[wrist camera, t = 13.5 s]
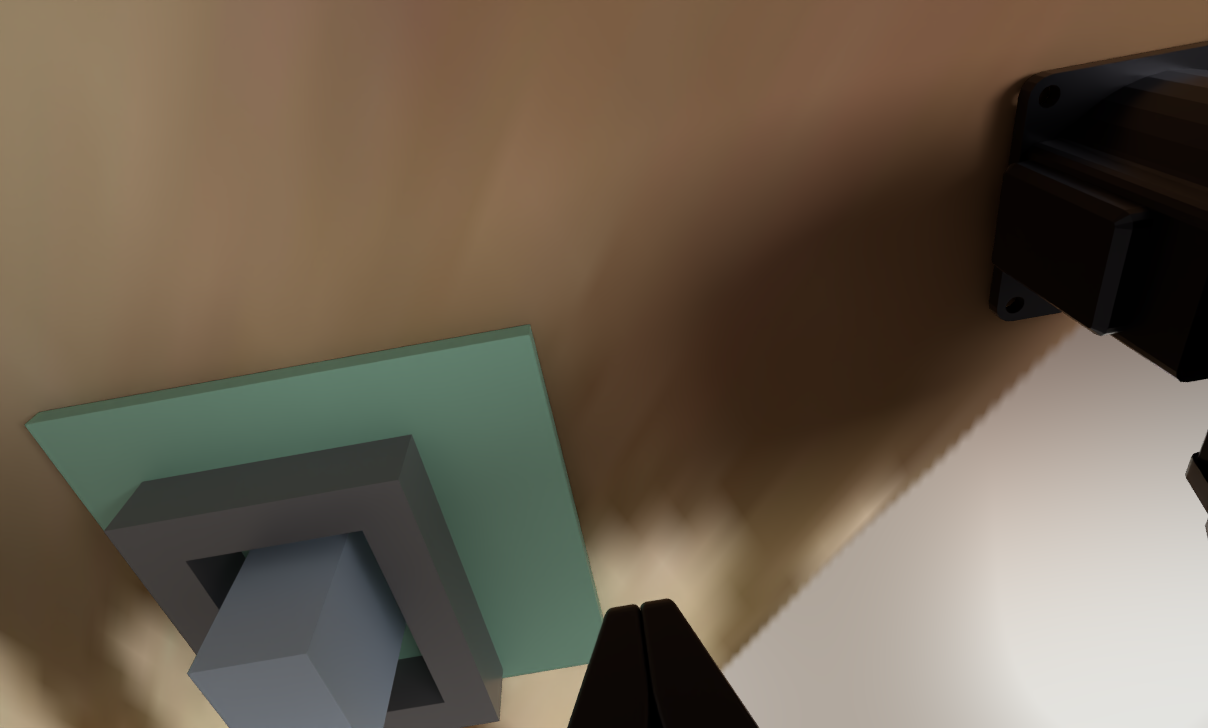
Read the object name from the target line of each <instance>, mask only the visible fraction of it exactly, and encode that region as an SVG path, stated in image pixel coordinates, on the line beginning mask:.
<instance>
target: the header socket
mask: <svg viewBox="0 0 1208 728" xmlns="http://www.w3.org/2000/svg"><path fill="white" fill-rule="evenodd" d="M357 531H363V533H364V535H365V537H366V539H367V541H368V543H369V545H370V548H371V550H372V552H373V554H374V556H375V558H376V560H377V562H378V564H379V566H380V568H381V570H382V573H383V575H384V577H385V579H386V581H387V583H388V585H389V587H390V589H391V591H392V593H393V596H394V598H395V600H396V602H397V604H398V606H399V608H400V610H401V612H402V614H403V616H404V619H405V621H406V623H407V625H408V627H409V629H410V631H411V633H412V635H413V637H414V639H415V641H416V644H417V646H418V648H419V650H420V652H421V654H422V656H416V657H410V658H404V659H398V663H397V667H396V672H395V676H394V681H393V686H392V690H391V695H390V699H389V704H388V709H387V713H386V718H385V722H384V727H383V728H461V727H467V726H473V725H479V724H485V723H491V722H497V721H500V707H501V692H502V676H503V668H502V665H501V663H500V660H499V658H498V655H497V653H496V650H495V647H494V645H493V642H492V640H491V637H490V635H489V632H488V629H487V627H486V624H485V622H484V619H483V617H482V614H481V611H480V609H479V606H478V604H477V601H476V598H475V596H474V593H473V591H472V588H471V586H470V583H469V580H468V578H467V575H466V573H465V570H464V568H463V565H462V562H461V560H460V557H459V555H458V552H457V550H456V547H455V544H454V542H453V539H452V537H451V534H450V531H449V529H448V526H447V524H446V521H445V519H444V516H443V513H442V511H441V508H440V506H439V503H438V501H437V498H436V495H435V493H434V490H433V488H432V485H431V483H430V480H429V477H428V475H427V472H426V470H425V467H424V464H423V462H422V459H421V457H420V454H419V452H418V449H417V446H416V444H415V441H414V439H413V436H412V434H411V435H405V436H399V437H394V438H388V439H382V440H377V441H371V442H365V443H360V444H354V445H348V446H343V447H337V448H331V449H325V450H320V451H314V452H308V453H303V454H297V455H291V456H286V457H280V458H274V459H269V460H263V461H257V462H252V463H246V464H240V465H235V466H229V467H223V468H218V469H212V470H206V471H201V472H195V473H189V474H183V475H178V476H172V477H166V478H161V479H155V480H149V481H144V482H142V483H141V484H140V485H139V487H138V488H137V489H136V491H135V492H134V493H133V494H132V496H131V497H130V498H129V499H128V501H127V502H126V503H125V505H124V506H123V507H122V508H121V510H120V511H119V512H118V513H117V515H116V516H115V517H114V519H113V520H112V521H111V522H110V524H109V525H108V526H107V528H106V529H105V530H104V532H105V534H106V535H107V536H108V538H109V539H110V540H111V542H112V543H113V544H114V546H115V547H116V548H117V550H118V551H119V552H120V554H121V555H122V556H123V558H124V559H125V560H126V562H127V563H128V564H129V566H130V567H131V568H132V570H133V571H134V572H135V574H136V575H137V576H138V578H139V579H140V580H141V582H142V583H143V584H144V586H145V587H146V588H147V590H148V591H149V592H150V594H151V595H152V596H153V598H154V599H155V600H156V602H157V603H158V604H159V606H160V607H161V608H162V610H163V611H164V612H165V614H166V615H167V616H168V618H169V619H170V620H171V622H172V623H173V624H174V626H175V627H176V628H177V630H178V631H179V632H180V634H181V635H182V636H183V638H184V639H185V640H186V642H187V643H188V644H189V646H190V647H191V648H192V650H193V651H194V652H195V654H196V655H197V653H198V651H199V649H200V647H201V645H202V643H203V641H204V639H205V638H206V636H207V634H208V632H209V630H210V628H211V626H212V624H213V622H214V620H215V618H216V616H217V614H218V612H219V610H220V608H221V606H222V604H223V602H224V600H225V598H226V596H227V594H228V592H229V590H230V588H231V587H232V585H233V583H234V581H235V579H236V577H237V575H238V573H239V571H240V569H241V567H242V565H243V563H244V561H245V559H246V558H245V557H244V555H243V554H242V552H241V551H247V550H253V549H259V548H264V547H270V546H276V545H282V544H287V543H293V542H299V541H305V540H311V539H316V538H322V537H328V536H334V535H340V534H345V533H351V532H357Z"/></svg>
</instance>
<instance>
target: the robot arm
mask: <svg viewBox="0 0 1208 728" xmlns="http://www.w3.org/2000/svg"><path fill="white" fill-rule="evenodd" d="M1048 86H1049V87H1050V93H1049V95H1048V98H1047V99H1046V100H1045V101H1044V102H1043V103H1041V104H1039V96H1040V94H1041V92H1042V91H1043V90H1044V89H1045V88H1046V87H1048ZM992 263H993V264H994V270H993V277H992V284H991V291H990V298H989V308H990V309H991V311H992V312H993V313H994V314H995V315H997V316H998V317H999V318H1000V319H1002V320H1005V321H1015V320H1021V319H1027V318H1032V317H1038V316H1044V315H1049V314H1055V313H1061V312H1063V313H1065V314H1066V315H1068V316H1069V317H1070V318H1072V319H1073V320H1075V321H1076V322H1078V323H1079V324H1081V325H1082V326H1084V327H1085V328H1087V329H1088V330H1090V331H1091V332H1093V333H1094V334H1096V335H1099V336H1103V335H1108V334H1109V335H1111V336H1113V337H1114V338H1115V339H1117V340H1119V341H1120V342H1122V343H1123V344H1124V345H1126V346H1127V347H1129V348H1130V349H1132V350H1134V351H1135V352H1137V353H1138V354H1140V355H1141V356H1143V357H1144V358H1145V359H1147V360H1149V361H1150V362H1152V363H1153V364H1155V365H1156V366H1158V367H1159V368H1161V369H1162V370H1164V371H1165V372H1167V373H1168V374H1170V375H1171V376H1173V377H1174V378H1176V379H1177V380H1179V381H1180V382H1191V381H1197V380H1203V379H1208V41H1205V42H1200V43H1194V44H1189V45H1183V46H1178V47H1173V48H1167V49H1162V50H1156V51H1151V52H1146V53H1140V54H1135V55H1129V56H1124V57H1119V58H1113V59H1108V60H1102V61H1097V62H1091V63H1086V64H1081V65H1075V66H1070V67H1064V68H1059V69H1054V70H1048V71H1043V72H1040V73H1038V74H1035V75H1033V76H1032V77H1031V78H1030V79H1028V80H1027V81H1026V83H1025V84H1024V85H1023V87H1022V88H1021V91H1020V94H1019V97H1018V103H1017V110H1016V117H1015V124H1014V131H1013V138H1012V145H1011V152H1010V159H1009V166H1008V168H1007V170H1006V172H1005V173H1004V176H1003V182H1002V189H1001V196H1000V204H999V211H998V218H997V225H996V232H995V239H994V246H993V253H992ZM1014 297H1016V298H1015V301H1014V302H1013V303H1012V304H1011V305H1010V306H1007V307H1006V305H1007V303H1008V302H1009V301H1010V300H1011V299H1012V298H1014ZM1185 476H1186V479H1187V480H1188V482H1189V483H1190V485H1191V487H1192V488H1193V490H1194V492H1195V493H1196V495H1197V497H1198V498H1199V500H1200V501H1201V503H1202V505H1203V507H1204V508H1205V510H1206V512H1207V513H1208V431H1207V433H1206V436H1205V439H1204V441H1203V444H1202V447H1201V450H1200V452H1197V453H1194V454H1193V455H1192V457H1191V460H1190V462H1189V465H1188V468H1187V471H1186V474H1185ZM1205 527H1206V532H1207V536H1208V520H1207V523H1206V525H1205ZM567 728H759V727H758V725H757V724H756V722H755V721H754V719H753V718H752V717H751V715H750V713H749V712H748V710H747V709H746V708H745V706H744V704H743V703H742V701H741V700H740V698H739V697H738V696H737V694H736V693H735V691H734V690H733V688H732V687H731V685H730V684H729V682H728V681H727V679H726V678H725V676H724V675H723V673H722V672H721V670H720V669H719V667H718V666H717V665H716V663H715V662H714V660H713V659H712V657H711V656H710V654H709V653H708V651H707V650H706V648H705V647H704V645H703V644H702V642H701V641H700V639H699V638H698V636H697V635H696V634H695V632H694V631H693V629H692V628H691V626H690V625H689V623H688V622H687V620H686V619H685V617H684V616H683V614H682V613H681V611H680V610H679V608H678V607H677V605H676V604H675V603H674V602H673V601H672V600H671V599H661V600H655V601H649V602H645V603H643V604H642V605H641V607H640V608H639V607H638V606H637V605H634V604H632V605H626V606H620V607H614V608H610V609H609V610H608V611H607V612H606V614H605V616H604V619H603V622H602V625H601V628H600V631H599V634H598V637H597V640H596V643H595V646H594V649H593V652H592V655H591V658H590V661H589V664H588V667H587V670H586V673H585V676H584V679H583V682H582V685H581V688H580V691H579V694H578V697H577V700H576V703H575V706H574V709H573V712H572V715H571V718H570V721H569V724H568V727H567Z"/></svg>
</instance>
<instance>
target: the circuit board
mask: <svg viewBox="0 0 1208 728" xmlns="http://www.w3.org/2000/svg"><path fill="white" fill-rule="evenodd" d="M25 426H26V428H27V429H28V430H29V432H30V433H31V434H32V436H33V437H34V438H35V440H36V441H37V442H38V444H39V445H40V446H41V448H42V449H43V450H44V452H45V453H46V454H47V456H48V457H49V458H50V460H51V461H52V462H53V464H54V465H55V466H56V468H57V469H58V470H59V472H60V473H61V474H62V476H63V477H64V478H65V480H66V481H67V482H68V484H69V485H70V486H71V488H72V489H73V490H74V492H75V493H76V494H77V496H78V497H79V498H80V500H81V501H82V502H83V504H84V505H85V506H86V508H87V509H88V510H89V512H90V513H91V514H92V516H93V517H94V518H95V520H96V521H97V522H98V524H99V525H100V526H101V528H102V529H103V530H105V529H106V528H107V526H108V525H109V524H110V522H111V521H112V520H113V519H114V517H115V516H116V515H117V513H118V512H119V511H120V510H121V508H122V507H123V506H124V505H125V503H126V502H127V501H128V499H129V498H130V497H131V496H132V494H133V493H134V492H135V491H136V489H137V488H138V487H139V485H140V484H141V483H142V482H144V481H149V480H155V479H161V478H166V477H172V476H178V475H183V474H189V473H195V472H201V471H206V470H212V469H218V468H223V467H229V466H235V465H240V464H246V463H252V462H257V461H263V460H269V459H274V458H280V457H286V456H291V455H297V454H303V453H308V452H314V451H320V450H325V449H331V448H337V447H343V446H348V445H354V444H360V443H365V442H371V441H377V440H382V439H388V438H394V437H399V436H405V435H411V434H412V436H413V439H414V441H415V444H416V446H417V449H418V452H419V454H420V457H421V459H422V462H423V464H424V467H425V470H426V472H427V475H428V477H429V480H430V483H431V485H432V488H433V490H434V493H435V495H436V498H437V501H438V503H439V506H440V508H441V511H442V513H443V516H444V519H445V521H446V524H447V526H448V529H449V531H450V534H451V537H452V539H453V542H454V544H455V547H456V550H457V552H458V555H459V557H460V560H461V562H462V565H463V568H464V570H465V573H466V575H467V578H468V580H469V583H470V586H471V588H472V591H473V593H474V596H475V598H476V601H477V604H478V606H479V609H480V611H481V614H482V617H483V619H484V622H485V624H486V627H487V629H488V632H489V635H490V637H491V640H492V642H493V645H494V647H495V650H496V653H497V655H498V658H499V660H500V663H501V665H502V668H503V676H502V678H506V677H512V676H518V675H524V674H530V673H536V672H542V671H548V670H554V669H560V668H566V667H572V666H578V665H584V664H589V661H590V658H591V655H592V652H593V649H594V646H595V643H596V640H597V637H598V634H599V631H600V628H601V625H602V622H603V615H602V611H601V607H600V603H599V599H598V595H597V591H596V587H595V583H594V579H593V575H592V571H591V567H590V563H589V559H588V555H587V551H586V547H585V543H584V539H583V535H582V531H581V527H580V523H579V519H578V515H577V511H576V507H575V503H574V499H573V495H572V491H571V487H570V483H569V479H568V475H567V471H566V467H565V463H564V459H563V455H562V451H561V447H560V443H559V439H558V435H557V431H556V427H555V423H554V419H553V415H552V411H551V407H550V403H549V399H548V395H547V391H546V387H545V383H544V379H543V375H542V371H541V367H540V363H539V358H538V354H537V350H536V346H535V342H534V338H533V334H532V330H531V326H530V324H529V325H523V326H518V327H512V328H506V329H501V330H495V331H490V332H484V333H479V334H473V335H467V336H462V337H456V338H451V339H445V340H439V341H434V342H428V343H423V344H417V345H412V346H406V347H400V348H395V349H389V350H384V351H378V352H373V353H367V354H361V355H356V356H350V357H345V358H339V359H334V360H328V361H322V362H317V363H311V364H306V365H300V366H294V367H289V368H283V369H278V370H272V371H267V372H261V373H255V374H250V375H244V376H239V377H233V378H228V379H222V380H216V381H211V382H205V383H200V384H194V385H188V386H183V387H177V388H172V389H166V390H161V391H155V392H149V393H144V394H138V395H133V396H127V397H122V398H116V399H110V400H105V401H99V402H94V403H88V404H82V405H77V406H71V407H66V408H60V409H55V410H49V411H43V412H39V413H37V414H36V415H35V416H34V417H33V418H32V419H31V420H29V421H28V422H27V423H26V424H25ZM249 551H250V550H247V551H241V552H242V554H243V555H244V557H245V558H246V557H247V555H248V553H249ZM416 656H422V654H421V652H420V650H419V648H418V646H417V644H416V641H415V639H414V637H413V635H412V633H411V631H410V629H409V627H408V625H407V623H406V626H405V630H404V635H403V640H402V644H401V649H400V653H399V658H398V659H404V658H410V657H416Z"/></svg>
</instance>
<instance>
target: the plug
mask: <svg viewBox="0 0 1208 728" xmlns="http://www.w3.org/2000/svg"><path fill="white" fill-rule="evenodd" d="M405 626H406V621H405V619H404V616H403V614H402V612H401V610H400V608H399V606H398V604H397V602H396V600H395V598H394V596H393V593H392V591H391V589H390V587H389V585H388V583H387V581H386V579H385V577H384V575H383V573H382V570H381V568H380V566H379V564H378V562H377V560H376V558H375V556H374V554H373V552H372V550H371V548H370V545H369V543H368V541H367V539H366V537H365V535H364V533H363V531H357V532H351V533H345V534H340V535H334V536H328V537H322V538H316V539H311V540H305V541H299V542H293V543H287V544H282V545H276V546H270V547H264V548H259V549H253V550H250V551H249V553H248V555H247V557H246V559H245V561H244V563H243V565H242V567H241V569H240V571H239V573H238V575H237V577H236V579H235V581H234V583H233V585H232V587H231V588H230V590H229V592H228V594H227V596H226V598H225V600H224V602H223V604H222V606H221V608H220V610H219V612H218V614H217V616H216V618H215V620H214V622H213V624H212V626H211V628H210V630H209V632H208V634H207V636H206V638H205V639H204V641H203V643H202V645H201V647H200V649H199V651H198V653H197V655H196V657H195V659H194V661H193V663H192V665H191V667H190V669H189V671H188V673H187V674H188V676H189V677H190V678H191V679H192V681H193V682H194V683H195V685H196V686H197V687H198V688H199V690H200V691H201V692H202V694H203V695H204V696H205V697H206V699H207V700H208V701H209V703H210V704H211V705H212V706H213V708H214V709H215V710H216V711H217V713H218V714H219V715H220V717H221V718H222V719H223V720H224V722H225V723H226V724H227V726H228V727H229V728H383V727H384V722H385V718H386V713H387V709H388V704H389V699H390V695H391V690H392V686H393V681H394V676H395V672H396V667H397V663H398V658H399V653H400V649H401V644H402V640H403V635H404V630H405Z"/></svg>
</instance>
